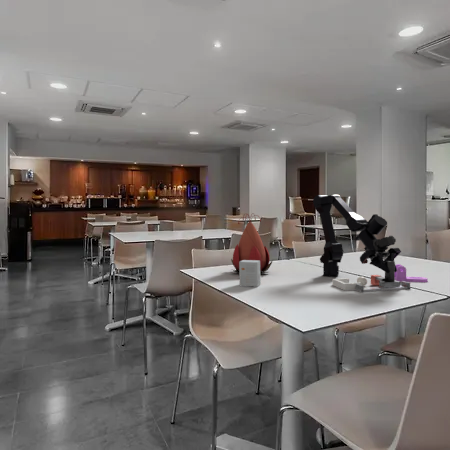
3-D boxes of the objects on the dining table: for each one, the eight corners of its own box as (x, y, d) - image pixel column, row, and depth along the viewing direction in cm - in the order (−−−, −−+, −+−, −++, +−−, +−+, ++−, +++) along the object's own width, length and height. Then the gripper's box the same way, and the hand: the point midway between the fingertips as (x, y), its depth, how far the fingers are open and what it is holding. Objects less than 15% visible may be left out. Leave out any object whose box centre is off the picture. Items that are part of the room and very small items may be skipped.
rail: (404, 286, 154) (404, 281, 154) (410, 288, 150) (410, 282, 150) (355, 290, 149) (355, 284, 149) (360, 292, 146) (360, 285, 146)
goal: (347, 284, 160) (347, 278, 160) (361, 289, 150) (361, 283, 150) (332, 285, 159) (332, 279, 159) (344, 290, 149) (344, 284, 149)
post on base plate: (383, 283, 160) (383, 258, 159) (400, 288, 149) (400, 261, 149) (368, 284, 158) (368, 258, 158) (384, 289, 148) (384, 262, 147)
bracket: (397, 281, 165) (397, 265, 165) (394, 279, 170) (394, 264, 170) (429, 282, 162) (429, 266, 162) (425, 280, 168) (425, 264, 167)
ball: (356, 286, 155) (356, 277, 155) (357, 284, 159) (357, 275, 159) (366, 287, 154) (366, 277, 153) (367, 285, 157) (367, 276, 157)
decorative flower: (239, 268, 204) (238, 212, 202) (279, 270, 194) (279, 212, 192) (221, 275, 184) (220, 213, 183) (265, 278, 174) (265, 214, 173)
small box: (260, 284, 161) (260, 260, 161) (257, 287, 156) (257, 262, 155) (242, 283, 164) (242, 259, 163) (239, 286, 158) (238, 261, 158)
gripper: (365, 230, 148) (388, 261, 139) (397, 228, 157) (421, 257, 148) (350, 248, 156) (371, 278, 146) (381, 245, 164) (403, 274, 155)
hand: (392, 272), depth 149 cm, fingers closed on post on base plate, 4 cm apart
